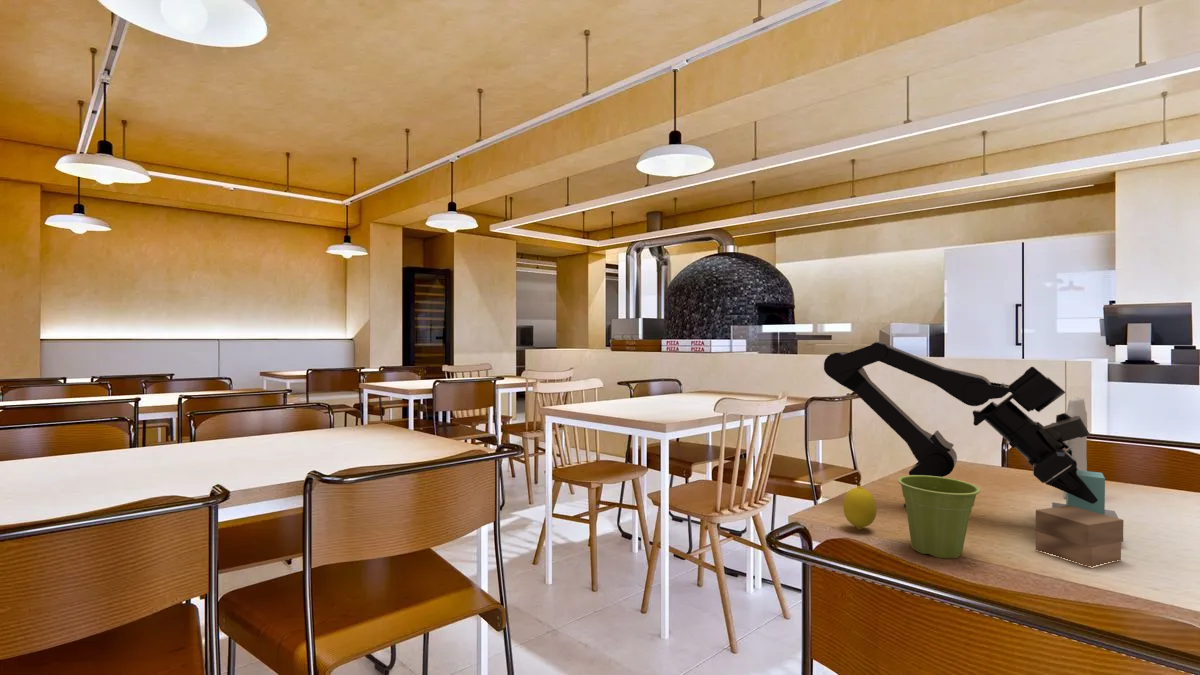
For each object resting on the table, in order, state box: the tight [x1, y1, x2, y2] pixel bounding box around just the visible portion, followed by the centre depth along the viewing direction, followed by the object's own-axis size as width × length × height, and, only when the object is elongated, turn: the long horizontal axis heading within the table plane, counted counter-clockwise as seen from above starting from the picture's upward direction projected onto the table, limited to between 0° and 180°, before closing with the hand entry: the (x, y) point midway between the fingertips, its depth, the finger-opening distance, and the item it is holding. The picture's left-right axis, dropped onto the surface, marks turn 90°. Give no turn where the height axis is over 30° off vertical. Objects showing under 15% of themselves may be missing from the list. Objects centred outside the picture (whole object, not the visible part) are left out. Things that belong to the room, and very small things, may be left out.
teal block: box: [1065, 470, 1106, 515], centre depth 106 cm, size 5×5×7 cm
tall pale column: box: [1063, 396, 1088, 500], centre depth 131 cm, size 11×4×22 cm, turn 127°
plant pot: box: [897, 474, 981, 559], centre depth 98 cm, size 12×12×11 cm
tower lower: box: [1035, 530, 1122, 567], centre depth 96 cm, size 8×8×4 cm
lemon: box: [842, 485, 877, 530], centre depth 109 cm, size 6×6×8 cm
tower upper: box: [1035, 505, 1124, 548], centre depth 96 cm, size 8×8×4 cm
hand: (1092, 496), depth 106 cm, fingers open, 9 cm apart
